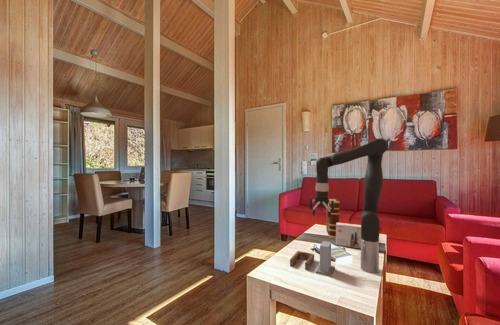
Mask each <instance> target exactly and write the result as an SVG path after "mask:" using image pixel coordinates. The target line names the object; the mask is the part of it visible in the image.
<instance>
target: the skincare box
mask: <svg viewBox="0 0 500 325" xmlns="http://www.w3.org/2000/svg"><path fill="white" fill-rule="evenodd" d="M335 245H336V246H343V247H350V248H356V249H357V248H358V249H361V224H354V223H353V224H352V223H344V222H339V223H336V238H335Z"/></svg>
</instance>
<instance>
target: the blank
mask: <svg viewBox="0 0 500 325" xmlns="http://www.w3.org/2000/svg"><path fill="white" fill-rule="evenodd" d="M319 265H320V271H323V272H327V273H328V272H329V270H330V267H331V265H332V241H326V240H322V242H321V243H320V245H319Z"/></svg>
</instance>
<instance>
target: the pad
mask: <svg viewBox="0 0 500 325" xmlns="http://www.w3.org/2000/svg"><path fill="white" fill-rule="evenodd" d="M334 270H335V265H332V264H331V267H330V270H329V272H328V273H327V272H323V271H320V264H319V265H318V266H317V268H316V270H315V274H319V275H324V276H327V277H332V274H333V272H334Z"/></svg>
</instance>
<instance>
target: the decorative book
mask: <svg viewBox="0 0 500 325" xmlns="http://www.w3.org/2000/svg"><path fill="white" fill-rule="evenodd" d="M328 199H329V201H332V200H333V201H334V211H331V217H330V218H328V209H327V208H326V207H325V208H326V215H325V216H326V217H325V218H326V219H325V220H326V224H325V226H326V229H325V230H326V232H327V234H328V237H329V238H331V239H332V238H334V239H336V223H340V214H341V213H340V202H341V201H340V200H339V199H338V198H336V197H334V198H328ZM328 206H329V207H330V209H332V207H331V204H330V202H329V203H328Z"/></svg>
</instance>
